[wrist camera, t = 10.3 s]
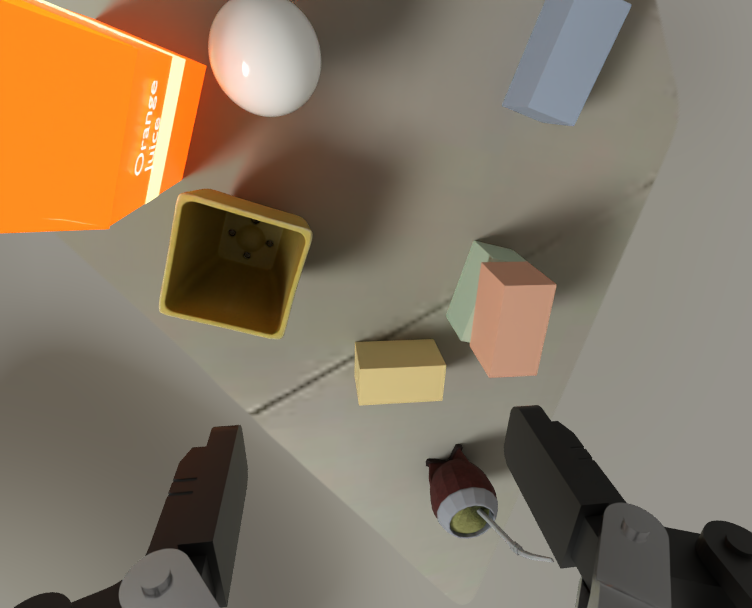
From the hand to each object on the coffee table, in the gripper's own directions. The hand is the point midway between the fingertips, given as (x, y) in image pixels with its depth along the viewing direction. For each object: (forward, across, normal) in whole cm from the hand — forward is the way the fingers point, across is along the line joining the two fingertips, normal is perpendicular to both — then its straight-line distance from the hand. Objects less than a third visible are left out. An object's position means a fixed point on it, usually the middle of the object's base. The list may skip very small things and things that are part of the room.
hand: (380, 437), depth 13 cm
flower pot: (+28, +7, +2) cm, 29 cm away
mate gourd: (+28, -13, +30) cm, 43 cm away
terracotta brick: (+23, -14, +7) cm, 27 cm away
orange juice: (+28, +14, -8) cm, 32 cm away
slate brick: (+28, -17, -12) cm, 35 cm away
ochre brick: (+28, -6, +15) cm, 32 cm away
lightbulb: (+28, +4, -11) cm, 30 cm away
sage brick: (+28, -14, +7) cm, 32 cm away
